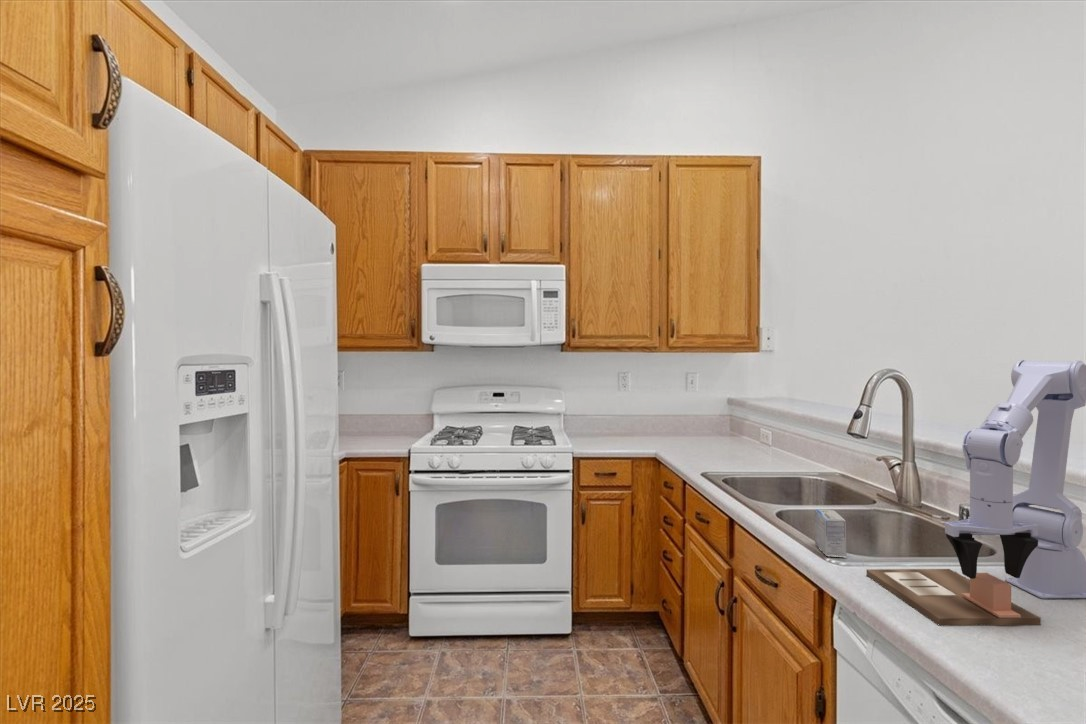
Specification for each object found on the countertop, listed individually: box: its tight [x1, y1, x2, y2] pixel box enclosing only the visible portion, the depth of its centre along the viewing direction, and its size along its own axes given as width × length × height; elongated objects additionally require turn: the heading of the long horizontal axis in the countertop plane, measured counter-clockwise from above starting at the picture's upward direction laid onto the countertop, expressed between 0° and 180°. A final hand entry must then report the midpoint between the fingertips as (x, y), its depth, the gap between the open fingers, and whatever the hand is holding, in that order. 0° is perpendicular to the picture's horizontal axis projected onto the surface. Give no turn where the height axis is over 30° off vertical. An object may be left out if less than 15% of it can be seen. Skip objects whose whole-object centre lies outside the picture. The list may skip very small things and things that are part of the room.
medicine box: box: [814, 509, 847, 557], centre depth 122 cm, size 8×4×9 cm, turn 168°
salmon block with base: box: [961, 572, 1021, 618], centre depth 92 cm, size 4×8×5 cm, turn 0°
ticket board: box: [866, 568, 1042, 626], centre depth 99 cm, size 17×20×2 cm
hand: (990, 575), depth 92 cm, fingers open, 7 cm apart
